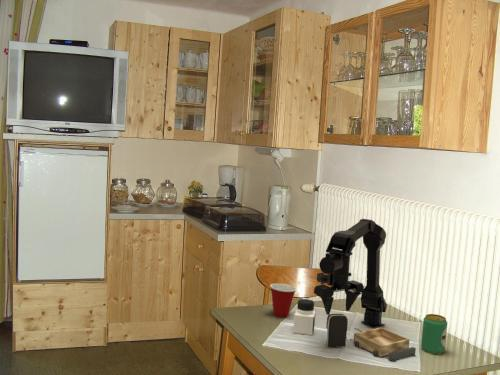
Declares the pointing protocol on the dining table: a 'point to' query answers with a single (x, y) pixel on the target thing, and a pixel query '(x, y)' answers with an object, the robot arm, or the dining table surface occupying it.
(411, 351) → the rails
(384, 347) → the shallow wooden tray
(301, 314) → the medicine bottle
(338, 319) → the battery charger
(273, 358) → the dining table surface
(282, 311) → the plastic cup
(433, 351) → the beverage can
